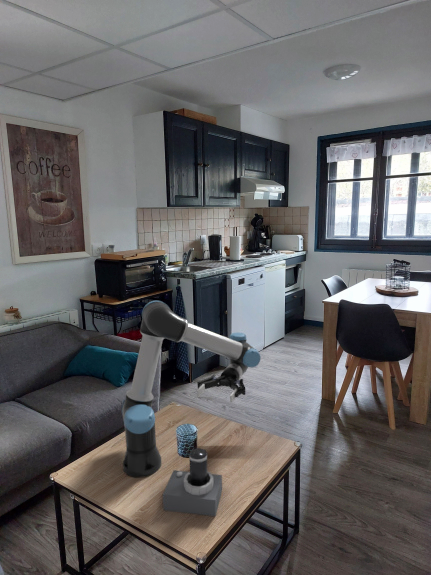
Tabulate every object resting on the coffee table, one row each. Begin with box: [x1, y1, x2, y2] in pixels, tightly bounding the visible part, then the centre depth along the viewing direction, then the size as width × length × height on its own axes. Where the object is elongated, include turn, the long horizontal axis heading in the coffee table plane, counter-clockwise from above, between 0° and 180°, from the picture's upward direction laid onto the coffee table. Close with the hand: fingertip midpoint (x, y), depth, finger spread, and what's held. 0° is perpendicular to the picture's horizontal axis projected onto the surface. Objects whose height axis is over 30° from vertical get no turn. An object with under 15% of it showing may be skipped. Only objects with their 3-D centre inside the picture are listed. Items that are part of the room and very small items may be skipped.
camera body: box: [162, 469, 223, 517], centre depth 138 cm, size 18×13×8 cm
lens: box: [188, 448, 208, 486], centre depth 136 cm, size 6×6×12 cm
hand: (214, 396), depth 150 cm, fingers open, 13 cm apart
